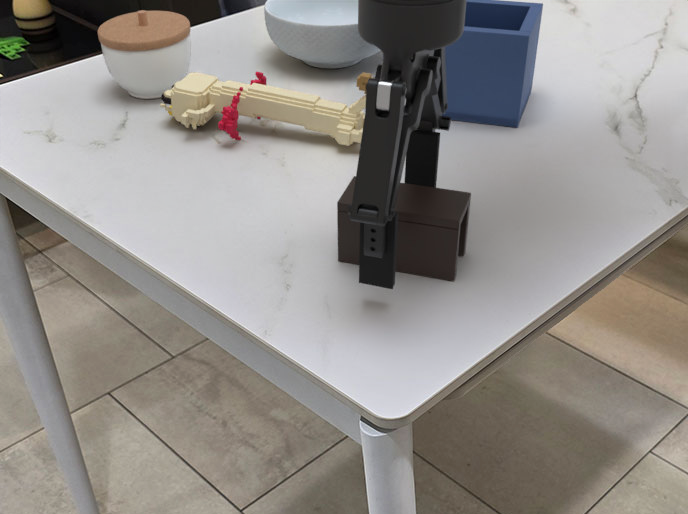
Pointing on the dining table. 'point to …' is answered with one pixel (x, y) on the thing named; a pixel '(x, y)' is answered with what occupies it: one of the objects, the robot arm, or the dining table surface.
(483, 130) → the dining table surface
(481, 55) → the blue box
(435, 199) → the dark brown block
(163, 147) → the dining table surface
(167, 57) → the trinket box
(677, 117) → the dining table surface
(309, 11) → the cereal bowl
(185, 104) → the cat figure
